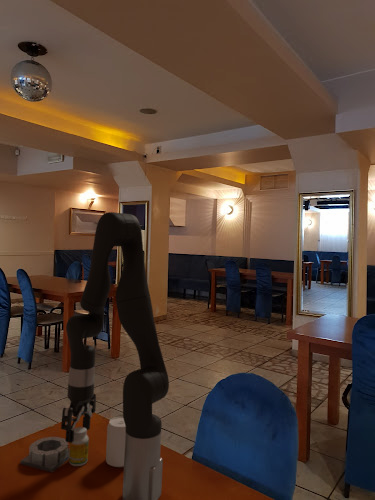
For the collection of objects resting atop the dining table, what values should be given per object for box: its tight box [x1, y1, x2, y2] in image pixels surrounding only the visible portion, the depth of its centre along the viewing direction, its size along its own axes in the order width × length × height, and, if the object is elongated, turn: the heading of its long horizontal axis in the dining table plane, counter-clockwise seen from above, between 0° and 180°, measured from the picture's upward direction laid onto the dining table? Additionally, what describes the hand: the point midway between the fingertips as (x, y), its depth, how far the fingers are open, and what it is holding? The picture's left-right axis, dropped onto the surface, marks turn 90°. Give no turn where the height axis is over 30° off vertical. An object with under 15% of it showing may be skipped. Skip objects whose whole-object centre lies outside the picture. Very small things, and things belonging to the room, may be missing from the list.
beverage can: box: [105, 416, 126, 468], centre depth 119 cm, size 8×8×12 cm
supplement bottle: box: [68, 426, 90, 467], centre depth 118 cm, size 5×5×10 cm
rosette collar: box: [20, 436, 70, 473], centre depth 119 cm, size 11×11×4 cm
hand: (78, 435), depth 118 cm, fingers open, 8 cm apart
